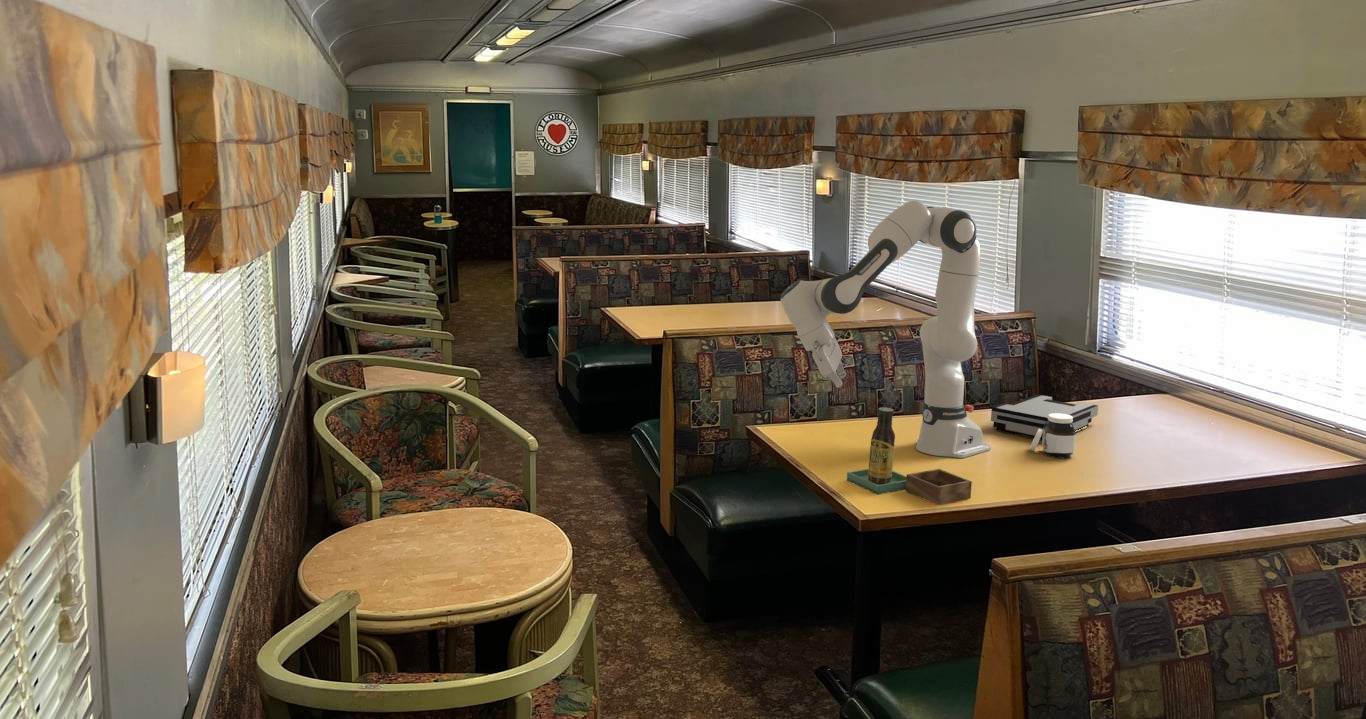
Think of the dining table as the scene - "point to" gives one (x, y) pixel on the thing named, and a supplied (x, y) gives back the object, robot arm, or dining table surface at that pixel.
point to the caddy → (938, 486)
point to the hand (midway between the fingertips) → (842, 381)
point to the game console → (1038, 414)
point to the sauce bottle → (882, 448)
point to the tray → (862, 480)
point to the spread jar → (1056, 436)
